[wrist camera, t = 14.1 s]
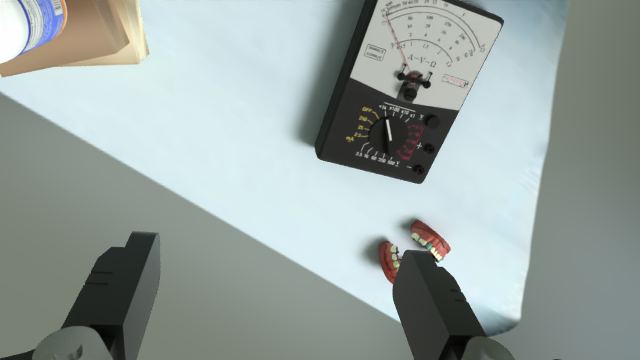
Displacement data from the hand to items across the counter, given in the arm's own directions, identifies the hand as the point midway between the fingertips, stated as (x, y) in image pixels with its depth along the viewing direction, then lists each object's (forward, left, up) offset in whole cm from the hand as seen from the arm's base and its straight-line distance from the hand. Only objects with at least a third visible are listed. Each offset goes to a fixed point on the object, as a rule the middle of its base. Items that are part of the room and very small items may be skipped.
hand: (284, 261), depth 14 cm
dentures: (+24, +22, -32) cm, 46 cm away
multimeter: (+2, +14, -33) cm, 36 cm away
